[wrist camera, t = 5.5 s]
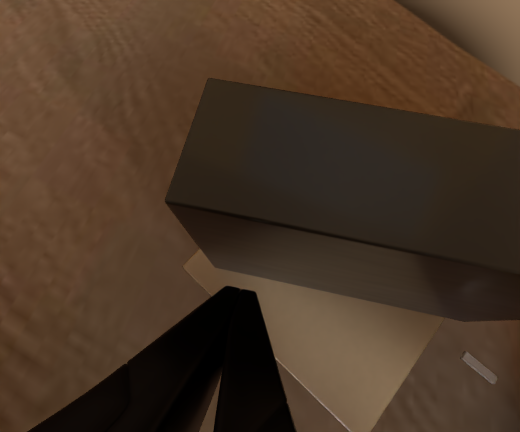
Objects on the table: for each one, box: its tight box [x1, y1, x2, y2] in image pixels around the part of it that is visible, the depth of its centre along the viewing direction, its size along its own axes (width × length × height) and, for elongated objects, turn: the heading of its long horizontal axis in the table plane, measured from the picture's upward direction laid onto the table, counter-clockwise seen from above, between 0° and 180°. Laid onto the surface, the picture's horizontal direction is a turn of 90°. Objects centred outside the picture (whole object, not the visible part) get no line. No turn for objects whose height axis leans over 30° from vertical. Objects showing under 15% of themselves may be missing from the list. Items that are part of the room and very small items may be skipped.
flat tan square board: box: [182, 249, 498, 432], centre depth 15 cm, size 15×15×2 cm
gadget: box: [165, 78, 520, 322], centre depth 10 cm, size 11×4×8 cm, turn 78°
